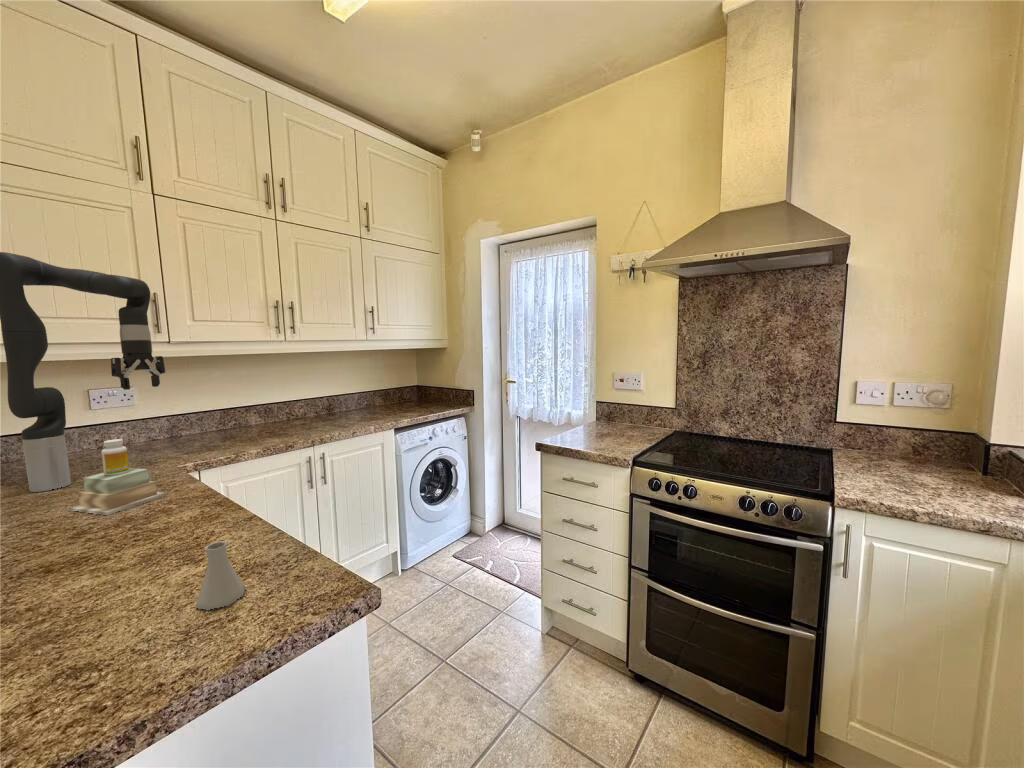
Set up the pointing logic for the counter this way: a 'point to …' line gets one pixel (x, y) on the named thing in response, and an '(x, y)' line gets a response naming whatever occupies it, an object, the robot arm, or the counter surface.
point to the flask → (219, 579)
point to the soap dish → (116, 492)
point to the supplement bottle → (114, 458)
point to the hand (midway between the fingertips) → (141, 388)
